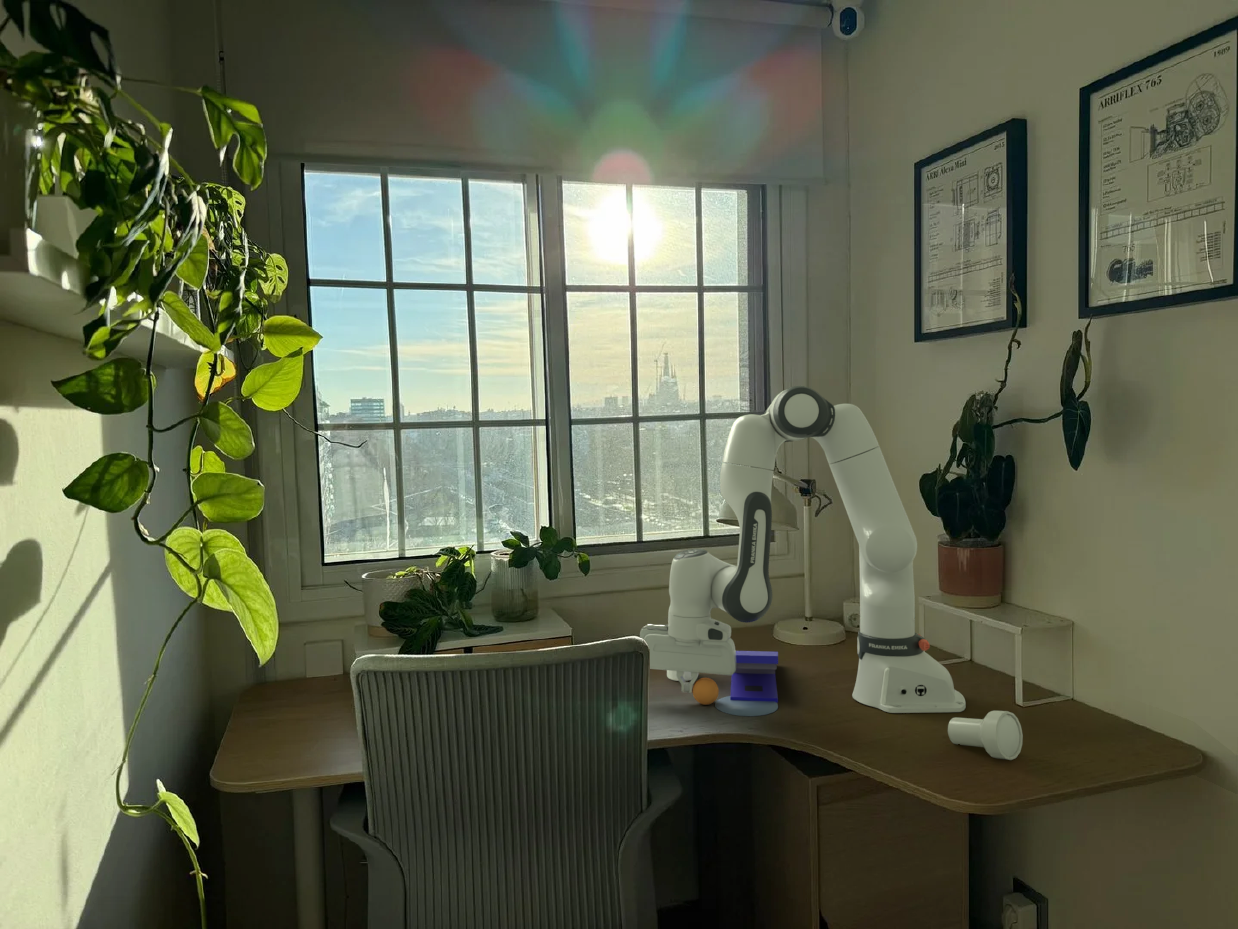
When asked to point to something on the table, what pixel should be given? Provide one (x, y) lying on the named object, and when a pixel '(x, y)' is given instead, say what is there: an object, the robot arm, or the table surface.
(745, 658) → the stapler
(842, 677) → the table surface
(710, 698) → the ball
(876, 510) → the robot arm
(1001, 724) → the spotlight
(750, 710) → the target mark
